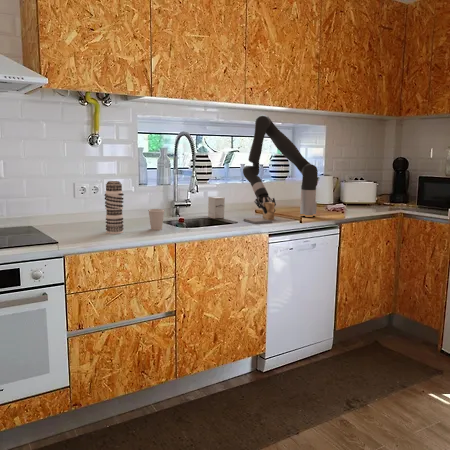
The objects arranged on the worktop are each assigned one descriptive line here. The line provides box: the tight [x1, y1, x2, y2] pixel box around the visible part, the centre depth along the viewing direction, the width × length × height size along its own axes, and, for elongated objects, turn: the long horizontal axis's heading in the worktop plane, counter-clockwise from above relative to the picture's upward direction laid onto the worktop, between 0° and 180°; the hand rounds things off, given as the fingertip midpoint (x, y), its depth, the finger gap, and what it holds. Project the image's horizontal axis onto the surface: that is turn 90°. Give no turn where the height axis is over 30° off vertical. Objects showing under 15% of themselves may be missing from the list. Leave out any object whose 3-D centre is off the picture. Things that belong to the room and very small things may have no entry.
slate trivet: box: [243, 217, 273, 225], centre depth 272 cm, size 12×12×1 cm
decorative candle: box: [104, 180, 125, 235], centre depth 227 cm, size 9×9×25 cm
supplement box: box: [207, 196, 225, 220], centre depth 284 cm, size 7×7×13 cm
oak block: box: [262, 202, 276, 221], centre depth 283 cm, size 5×5×10 cm
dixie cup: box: [148, 208, 166, 231], centre depth 240 cm, size 8×8×10 cm
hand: (270, 212), depth 281 cm, fingers closed on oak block, 5 cm apart
